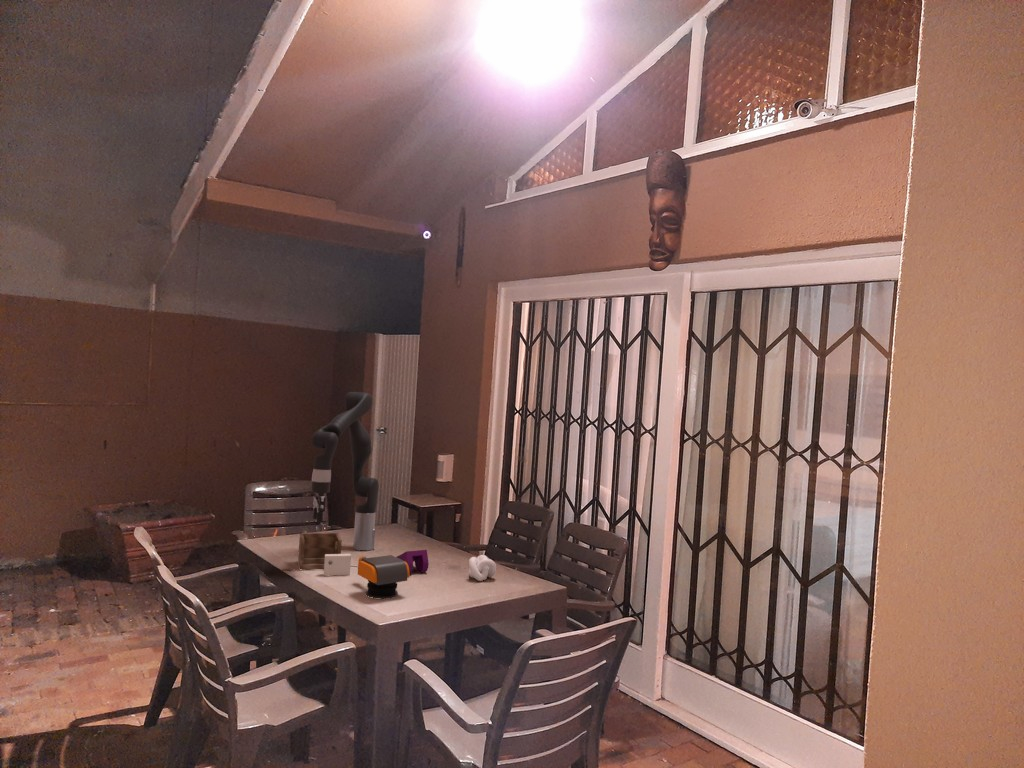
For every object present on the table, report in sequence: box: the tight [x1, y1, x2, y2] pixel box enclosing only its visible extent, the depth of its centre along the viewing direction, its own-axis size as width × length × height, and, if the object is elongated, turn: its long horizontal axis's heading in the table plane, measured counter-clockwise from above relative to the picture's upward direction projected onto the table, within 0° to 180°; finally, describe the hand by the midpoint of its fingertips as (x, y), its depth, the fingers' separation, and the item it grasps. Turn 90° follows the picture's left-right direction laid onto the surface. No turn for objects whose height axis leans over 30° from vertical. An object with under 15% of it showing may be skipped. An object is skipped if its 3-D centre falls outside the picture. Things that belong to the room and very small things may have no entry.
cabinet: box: [297, 532, 343, 569], centre depth 290 cm, size 16×14×12 cm
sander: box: [357, 554, 411, 600], centre depth 261 cm, size 15×25×13 cm, turn 39°
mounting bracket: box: [396, 549, 430, 574], centre depth 292 cm, size 9×8×18 cm
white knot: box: [468, 554, 497, 582], centre depth 285 cm, size 11×12×9 cm
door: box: [323, 553, 352, 576], centre depth 278 cm, size 10×4×8 cm, turn 110°
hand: (317, 520), depth 282 cm, fingers open, 8 cm apart
